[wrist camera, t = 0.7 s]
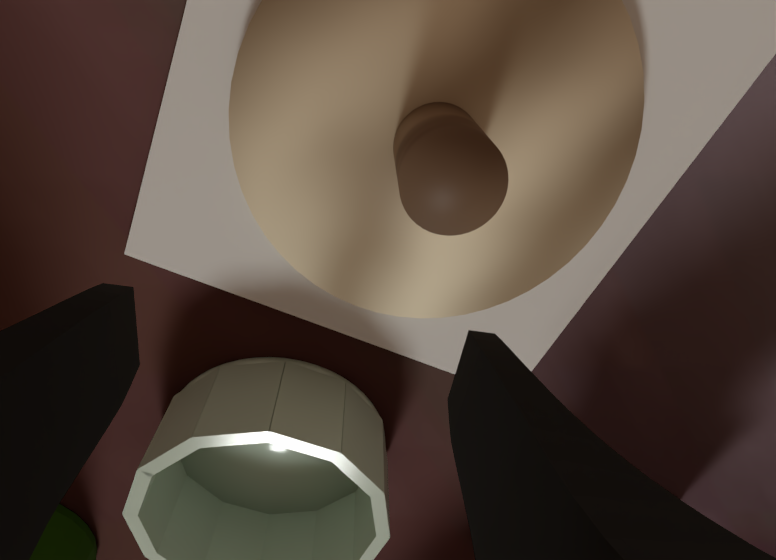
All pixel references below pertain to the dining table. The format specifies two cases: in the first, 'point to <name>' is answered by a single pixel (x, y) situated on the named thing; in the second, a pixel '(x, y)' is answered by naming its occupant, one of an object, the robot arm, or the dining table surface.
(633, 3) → the mat
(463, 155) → the lid
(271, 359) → the bowl
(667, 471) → the dining table surface
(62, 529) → the wine bottle
